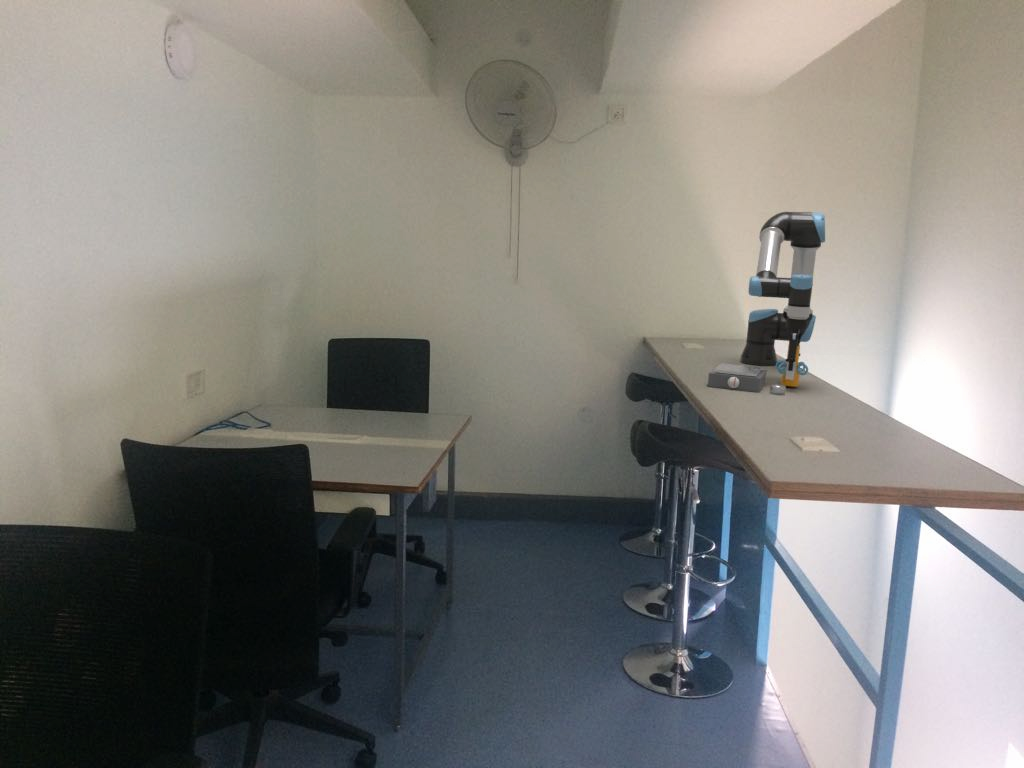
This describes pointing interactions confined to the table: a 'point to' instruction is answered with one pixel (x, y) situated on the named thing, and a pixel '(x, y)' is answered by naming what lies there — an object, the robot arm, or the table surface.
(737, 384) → the base
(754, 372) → the pan
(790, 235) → the robot arm
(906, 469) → the table surface
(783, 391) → the cylinder
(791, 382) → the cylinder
